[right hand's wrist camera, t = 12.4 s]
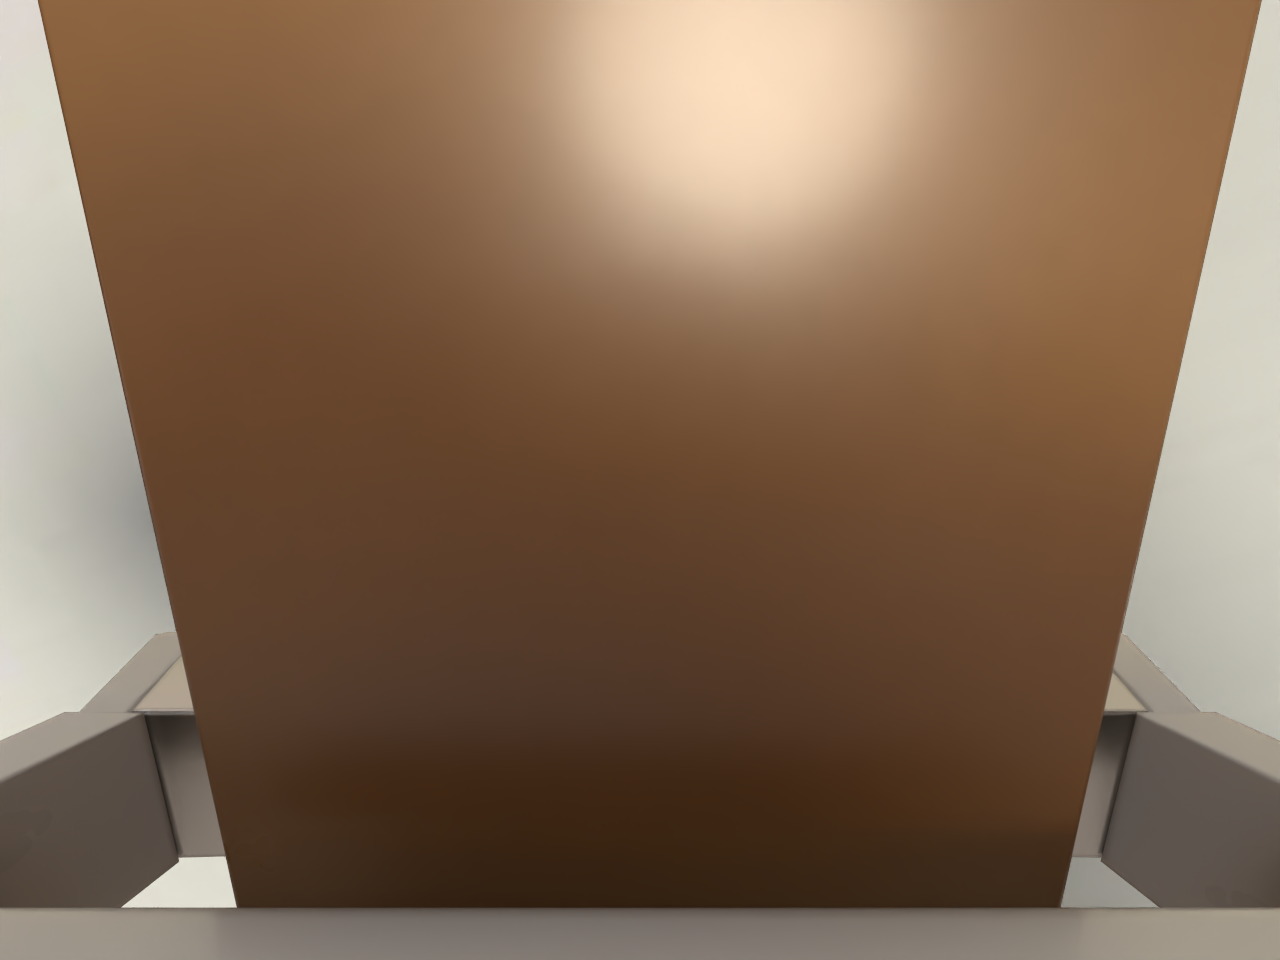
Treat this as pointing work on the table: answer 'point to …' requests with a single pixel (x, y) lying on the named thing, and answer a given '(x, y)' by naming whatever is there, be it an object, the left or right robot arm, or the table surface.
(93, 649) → the table surface
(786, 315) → the box
